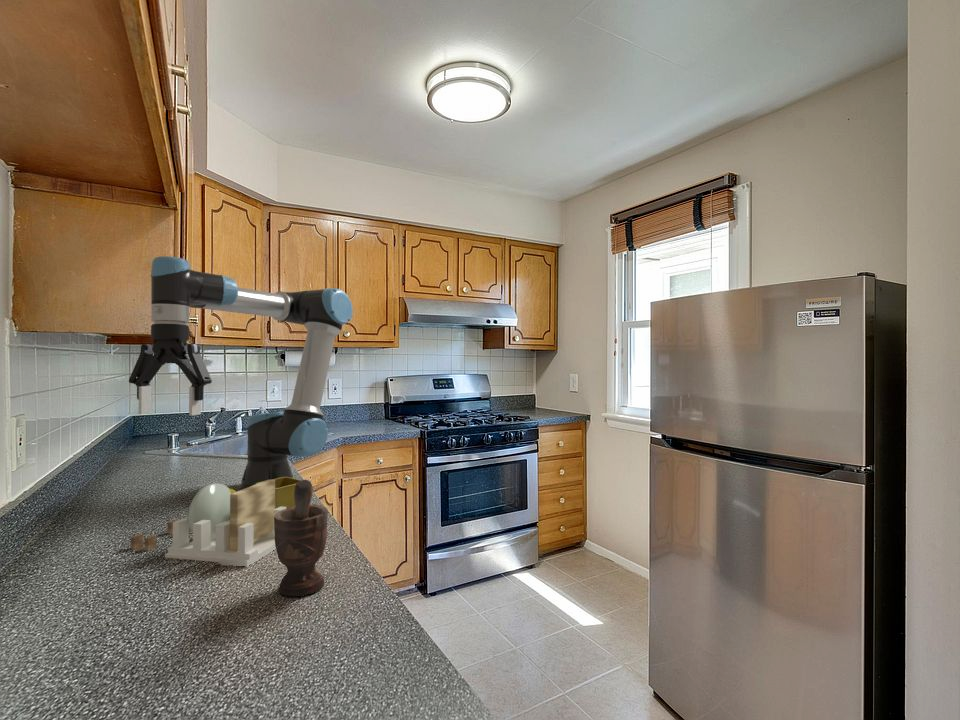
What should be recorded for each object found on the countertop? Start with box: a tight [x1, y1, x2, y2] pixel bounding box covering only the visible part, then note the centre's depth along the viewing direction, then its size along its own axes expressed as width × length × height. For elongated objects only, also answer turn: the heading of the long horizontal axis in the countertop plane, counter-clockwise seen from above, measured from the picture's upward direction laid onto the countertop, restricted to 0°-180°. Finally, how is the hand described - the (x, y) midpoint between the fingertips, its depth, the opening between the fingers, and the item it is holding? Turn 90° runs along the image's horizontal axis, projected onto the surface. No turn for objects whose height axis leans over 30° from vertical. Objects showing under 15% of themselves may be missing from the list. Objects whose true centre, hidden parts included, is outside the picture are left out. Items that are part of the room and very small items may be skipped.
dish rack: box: [164, 506, 286, 568], centre depth 99 cm, size 15×18×7 cm
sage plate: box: [187, 482, 231, 538], centre depth 100 cm, size 11×1×11 cm, turn 170°
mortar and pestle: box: [274, 479, 329, 597], centre depth 80 cm, size 12×9×20 cm
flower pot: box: [256, 477, 302, 509], centre depth 119 cm, size 9×9×9 cm
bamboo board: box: [229, 480, 275, 552], centre depth 98 cm, size 12×2×11 cm, turn 169°
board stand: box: [130, 519, 192, 552], centre depth 102 cm, size 11×4×3 cm, turn 170°
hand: (169, 414), depth 111 cm, fingers open, 13 cm apart
